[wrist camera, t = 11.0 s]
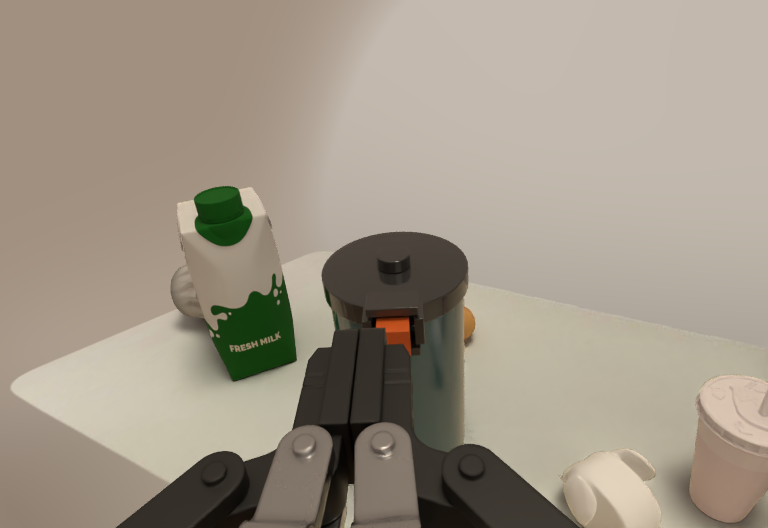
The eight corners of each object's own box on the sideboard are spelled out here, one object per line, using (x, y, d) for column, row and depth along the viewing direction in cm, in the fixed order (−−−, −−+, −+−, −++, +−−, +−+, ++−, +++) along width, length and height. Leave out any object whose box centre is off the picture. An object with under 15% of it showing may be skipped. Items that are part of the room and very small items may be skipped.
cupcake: (210, 334, 65) (277, 324, 62) (157, 321, 57) (231, 309, 54) (213, 266, 68) (277, 253, 65) (163, 245, 59) (234, 229, 56)
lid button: (379, 343, 32) (376, 318, 31) (410, 341, 31) (408, 316, 30) (378, 358, 30) (375, 332, 29) (411, 356, 30) (409, 331, 29)
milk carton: (225, 390, 52) (165, 216, 41) (216, 340, 59) (163, 182, 49) (307, 363, 54) (269, 192, 44) (288, 318, 61) (252, 163, 51)
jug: (357, 370, 52) (333, 209, 43) (458, 366, 52) (456, 200, 42) (343, 501, 40) (304, 313, 30) (477, 498, 39) (480, 304, 29)
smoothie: (704, 548, 34) (767, 404, 27) (651, 468, 40) (692, 331, 33) (792, 533, 35) (878, 388, 27) (728, 456, 40) (785, 318, 33)
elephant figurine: (594, 464, 41) (604, 413, 38) (687, 548, 34) (709, 495, 31) (531, 505, 38) (536, 454, 35) (619, 603, 32) (635, 552, 29)
